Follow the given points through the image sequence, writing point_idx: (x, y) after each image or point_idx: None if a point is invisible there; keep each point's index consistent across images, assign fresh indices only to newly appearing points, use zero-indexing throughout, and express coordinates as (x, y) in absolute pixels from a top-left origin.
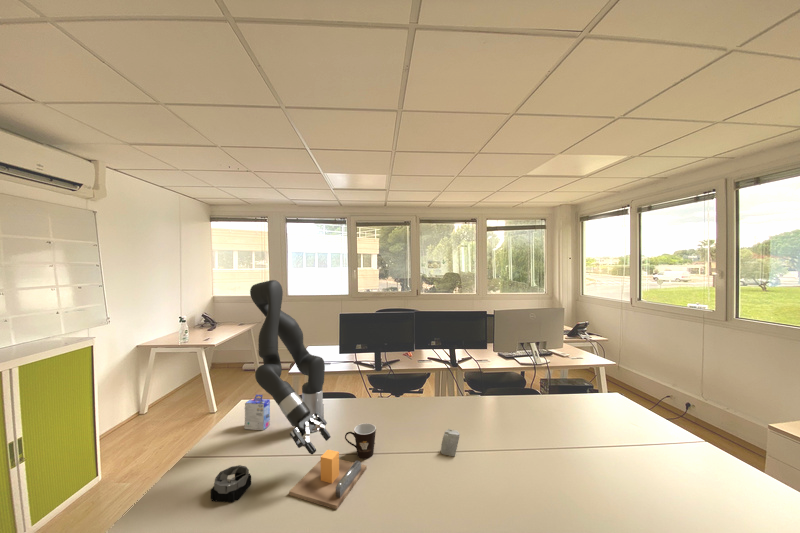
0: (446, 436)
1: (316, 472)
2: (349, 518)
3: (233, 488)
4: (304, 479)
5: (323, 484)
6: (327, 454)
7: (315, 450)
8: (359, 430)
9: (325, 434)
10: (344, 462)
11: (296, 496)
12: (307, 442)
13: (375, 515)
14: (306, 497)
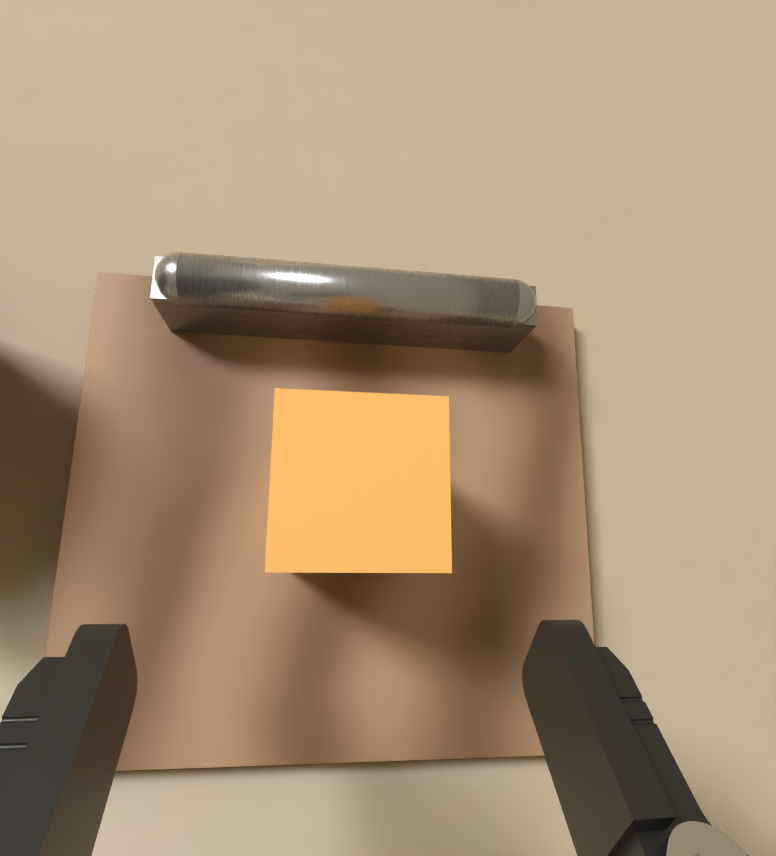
0: None
1: (318, 675)
2: (584, 222)
3: None
4: (436, 724)
5: None
6: (374, 509)
7: (571, 622)
8: None
9: (92, 745)
10: (101, 488)
11: None
12: (720, 840)
13: (510, 97)
14: (586, 565)
